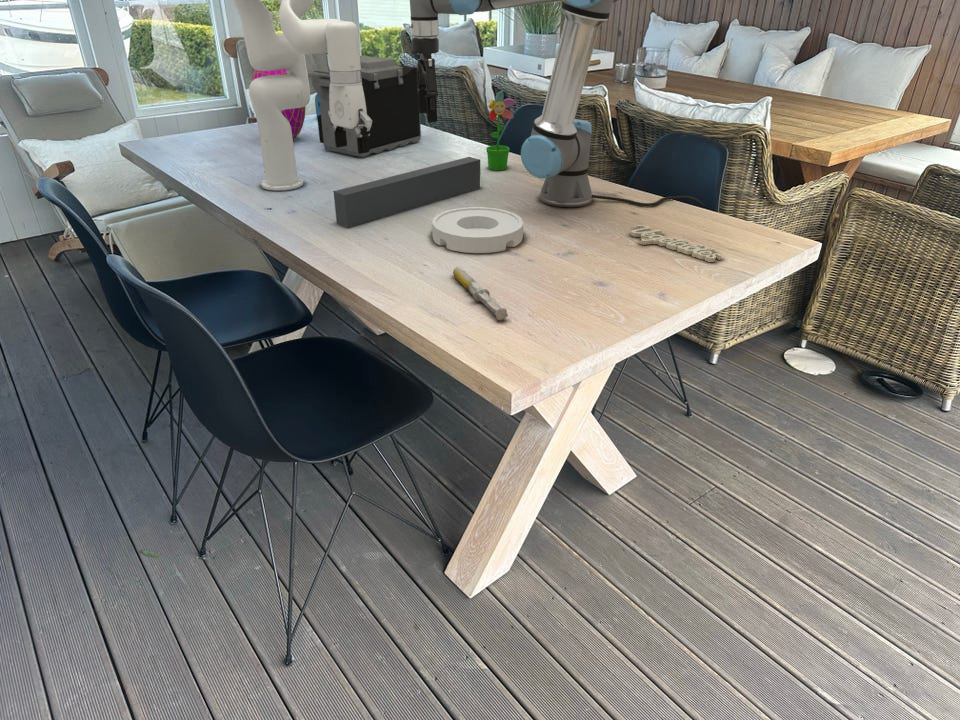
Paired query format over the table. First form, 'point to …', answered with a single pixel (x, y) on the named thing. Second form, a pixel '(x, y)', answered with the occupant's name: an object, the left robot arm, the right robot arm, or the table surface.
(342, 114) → the left robot arm
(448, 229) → the ashtray
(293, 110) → the magenta tall rounded piece
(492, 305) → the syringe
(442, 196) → the beam
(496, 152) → the potted flower
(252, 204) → the table surface
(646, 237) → the decorative sign
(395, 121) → the black cooler box
